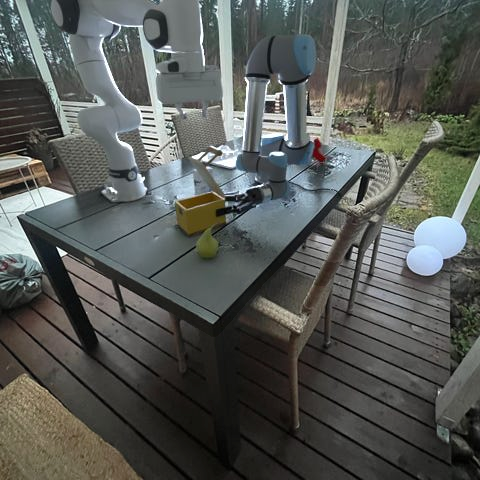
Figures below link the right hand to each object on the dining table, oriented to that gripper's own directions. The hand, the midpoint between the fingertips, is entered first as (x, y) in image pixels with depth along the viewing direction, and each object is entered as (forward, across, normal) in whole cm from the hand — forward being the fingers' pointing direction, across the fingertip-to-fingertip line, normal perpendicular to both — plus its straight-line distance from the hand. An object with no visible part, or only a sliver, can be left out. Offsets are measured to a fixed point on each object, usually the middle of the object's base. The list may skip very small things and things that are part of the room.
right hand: (210, 208), depth 103 cm
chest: (+4, 0, +6) cm, 7 cm away
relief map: (-47, -72, +6) cm, 87 cm away
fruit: (+11, +20, +6) cm, 23 cm away
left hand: (+3, 0, -32) cm, 32 cm away
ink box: (-11, -28, +6) cm, 31 cm away
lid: (+1, 0, -12) cm, 12 cm away
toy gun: (-87, -36, +6) cm, 94 cm away
